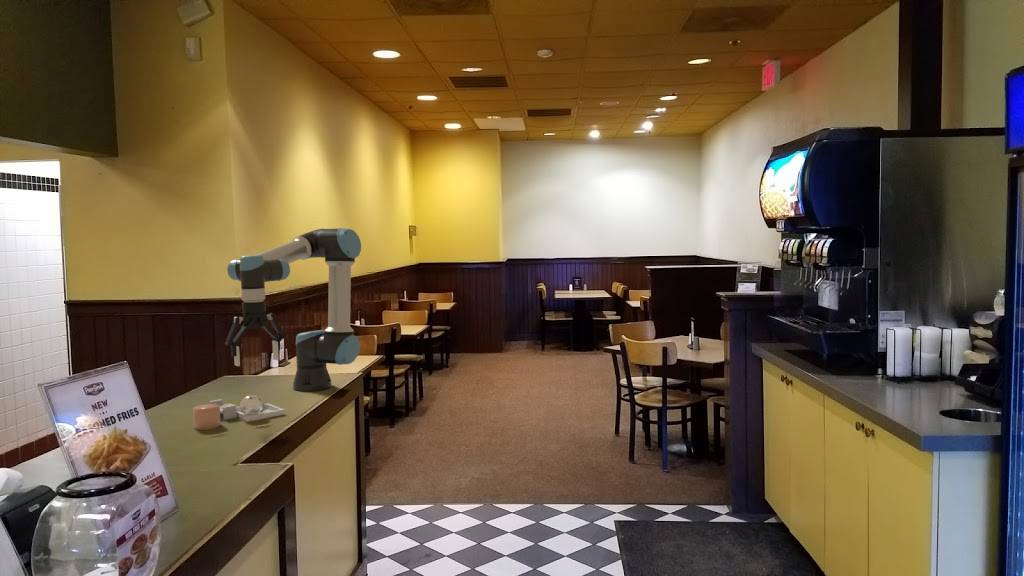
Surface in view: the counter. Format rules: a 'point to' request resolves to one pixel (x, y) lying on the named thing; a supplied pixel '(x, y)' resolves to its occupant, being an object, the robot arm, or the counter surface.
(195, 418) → the peach rounded pebble
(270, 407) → the tray
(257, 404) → the light bulb
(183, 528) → the counter surface
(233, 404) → the plate
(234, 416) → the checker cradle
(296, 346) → the robot arm
